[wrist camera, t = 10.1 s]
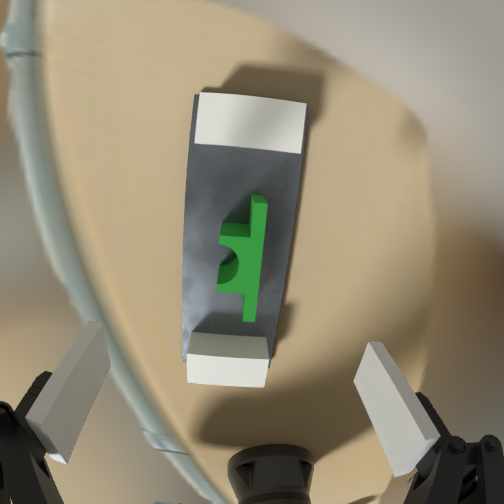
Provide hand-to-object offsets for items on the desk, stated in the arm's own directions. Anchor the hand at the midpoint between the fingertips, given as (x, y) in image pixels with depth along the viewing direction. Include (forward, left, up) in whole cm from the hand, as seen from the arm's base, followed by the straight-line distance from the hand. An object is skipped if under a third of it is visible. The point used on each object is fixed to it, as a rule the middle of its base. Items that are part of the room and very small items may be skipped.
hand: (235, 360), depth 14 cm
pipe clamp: (0, 0, -16) cm, 16 cm away
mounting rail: (0, 0, -17) cm, 17 cm away
